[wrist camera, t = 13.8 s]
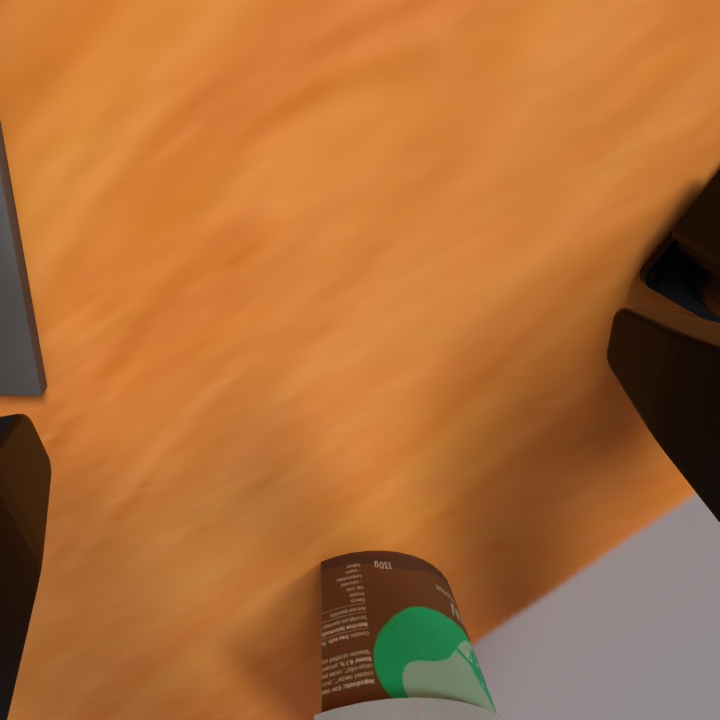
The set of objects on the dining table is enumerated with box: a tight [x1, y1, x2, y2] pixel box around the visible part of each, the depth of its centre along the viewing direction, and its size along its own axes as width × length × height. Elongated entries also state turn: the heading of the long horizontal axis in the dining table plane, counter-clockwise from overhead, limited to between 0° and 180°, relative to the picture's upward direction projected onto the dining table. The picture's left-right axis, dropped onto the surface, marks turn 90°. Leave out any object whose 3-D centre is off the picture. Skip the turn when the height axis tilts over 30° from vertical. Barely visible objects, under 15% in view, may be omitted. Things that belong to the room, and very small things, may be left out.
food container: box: [314, 551, 505, 720], centre depth 26 cm, size 12×6×10 cm, turn 25°
